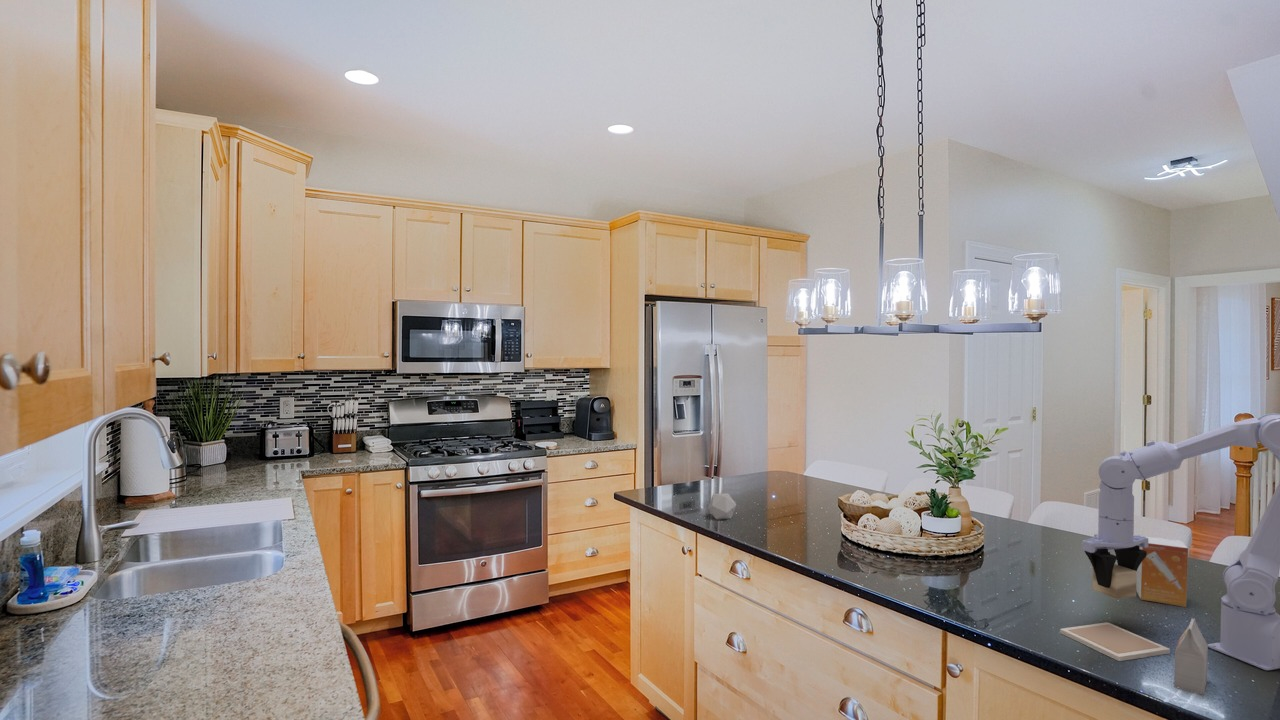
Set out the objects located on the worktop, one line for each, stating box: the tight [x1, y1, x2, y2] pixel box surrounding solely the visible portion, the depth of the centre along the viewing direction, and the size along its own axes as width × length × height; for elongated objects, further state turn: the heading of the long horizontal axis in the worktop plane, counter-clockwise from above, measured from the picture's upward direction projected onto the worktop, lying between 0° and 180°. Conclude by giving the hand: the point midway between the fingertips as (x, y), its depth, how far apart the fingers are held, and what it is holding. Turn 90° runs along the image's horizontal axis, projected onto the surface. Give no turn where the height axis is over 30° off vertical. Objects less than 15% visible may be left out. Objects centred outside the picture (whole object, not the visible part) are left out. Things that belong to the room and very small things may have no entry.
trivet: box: [1059, 621, 1171, 662], centre depth 124 cm, size 12×12×1 cm
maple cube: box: [1092, 563, 1137, 600], centre depth 131 cm, size 5×5×5 cm
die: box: [707, 493, 737, 521], centre depth 213 cm, size 8×9×10 cm
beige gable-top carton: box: [1173, 617, 1209, 696], centre depth 109 cm, size 4×7×10 cm, turn 136°
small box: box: [1136, 536, 1189, 608], centre depth 145 cm, size 8×6×13 cm
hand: (1114, 584), depth 131 cm, fingers closed on maple cube, 5 cm apart
